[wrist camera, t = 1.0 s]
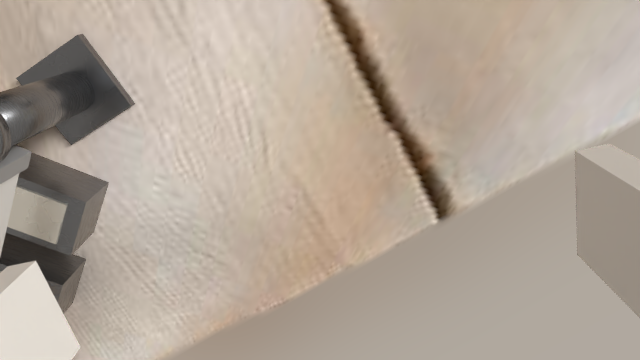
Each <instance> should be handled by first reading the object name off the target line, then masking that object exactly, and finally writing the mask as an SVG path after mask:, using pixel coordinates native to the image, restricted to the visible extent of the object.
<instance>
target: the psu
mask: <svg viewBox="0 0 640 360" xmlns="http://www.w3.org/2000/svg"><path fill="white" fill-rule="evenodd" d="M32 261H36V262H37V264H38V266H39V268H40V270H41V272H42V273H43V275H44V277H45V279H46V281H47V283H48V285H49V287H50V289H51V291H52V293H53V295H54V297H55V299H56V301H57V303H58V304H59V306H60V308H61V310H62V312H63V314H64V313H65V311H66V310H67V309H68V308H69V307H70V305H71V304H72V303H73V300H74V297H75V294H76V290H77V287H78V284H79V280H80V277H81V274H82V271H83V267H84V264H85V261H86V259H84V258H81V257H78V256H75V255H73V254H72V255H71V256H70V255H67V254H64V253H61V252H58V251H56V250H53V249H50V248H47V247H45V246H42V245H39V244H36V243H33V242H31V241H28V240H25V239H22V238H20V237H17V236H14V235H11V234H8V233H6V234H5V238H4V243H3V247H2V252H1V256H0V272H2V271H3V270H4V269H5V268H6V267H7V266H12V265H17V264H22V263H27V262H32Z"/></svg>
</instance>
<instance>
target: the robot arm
mask: <svg viewBox="0 0 640 360" xmlns="http://www.w3.org/2000/svg"><path fill="white" fill-rule="evenodd" d="M575 176H576V177H575V179H576V219H577V255H578V256H579V257H580V258H581V259H582V260H583V261H584V262H585V263H586V264H587V265H588V266H589V267H590V268H591V269H592V270H593V271H594V272H595V273H596V274H597V275H598V276H599V277H600V278H601V279H602V280H603V281H604V282H605V283H606V284H607V285H608V286H609V287H610V288H611V289H612V290H613V291H614V292H615V293H616V294H617V295H618V296H619V297H620V298H621V299H622V300H623V301H624V302H625V303H626V304H627V305H628V306H629V307H630V308H631V309H632V311H634V313H635V314H636V315H637V316H638V317H639V318H640V159H638V158H636V157H634V156H632V155H630V154H628V153H626V152H624V151H622V150H621V149H619V148H617V147H615V146H613V145H611V144H606V145H602V146H596V147H591V148H586V149H582V150H577V151H575ZM79 349H80V345H79V343H78V341H77V339H76V337H75V335H74V334H73V332H72V330H71V328H70V326H69V324H68V322H67V320H66V318H65V316H64V314H63V312H62V310H61V308H60V306H59V304H58V303H57V301H56V299H55V297H54V295H53V293H52V291H51V289H50V287H49V285H48V283H47V281H46V279H45V277H44V275H43V273H42V272H41V270H40V268H39V266H38V264H37V262H36V261H32V262H27V263H22V264H17V265H12V266H7V267H6V268H5V269H4V270H3V271H2V272H0V360H72V359H73V357H74V356H75V354H76V353H77V352H78V350H79Z"/></svg>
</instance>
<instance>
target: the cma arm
mask: <svg viewBox="0 0 640 360" xmlns="http://www.w3.org/2000/svg"><path fill="white" fill-rule="evenodd" d="M31 153H32V151H29V150H26V149H24V148H21V147H19V146H16V145H13V146H11V147H10V151H9V153H8V155H7V156H6V158H5V159H4V160H3V161H1V162H0V256H1V252H2V247H3V243H4V238H5V234H6V230H7V225H8V221H9V216H10V212H11V208H12V203H13V199H14V194H15V190H16V185H17V181H18V177H19V173H20V172H22V171H24V170H25V169H27V168H28V166H29V162H30V157H31Z"/></svg>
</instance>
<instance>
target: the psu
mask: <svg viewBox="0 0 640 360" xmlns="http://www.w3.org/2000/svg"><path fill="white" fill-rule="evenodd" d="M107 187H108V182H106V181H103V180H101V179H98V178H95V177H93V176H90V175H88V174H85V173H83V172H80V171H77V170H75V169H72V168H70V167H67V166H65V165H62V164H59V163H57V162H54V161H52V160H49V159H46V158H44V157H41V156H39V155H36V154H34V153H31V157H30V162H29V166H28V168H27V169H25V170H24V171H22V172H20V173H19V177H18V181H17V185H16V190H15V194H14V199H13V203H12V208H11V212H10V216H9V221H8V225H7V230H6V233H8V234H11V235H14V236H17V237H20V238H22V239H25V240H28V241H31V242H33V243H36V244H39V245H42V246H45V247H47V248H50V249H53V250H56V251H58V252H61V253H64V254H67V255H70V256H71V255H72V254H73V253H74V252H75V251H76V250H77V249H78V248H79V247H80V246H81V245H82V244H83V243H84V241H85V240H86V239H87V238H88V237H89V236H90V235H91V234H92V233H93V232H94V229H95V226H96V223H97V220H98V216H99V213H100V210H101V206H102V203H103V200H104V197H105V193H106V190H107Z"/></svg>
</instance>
